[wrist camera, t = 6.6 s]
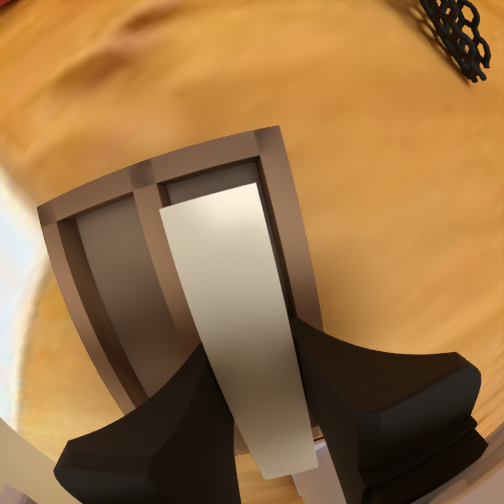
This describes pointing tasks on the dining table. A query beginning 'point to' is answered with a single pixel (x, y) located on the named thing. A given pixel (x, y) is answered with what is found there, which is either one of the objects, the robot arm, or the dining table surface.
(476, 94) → the dining table surface
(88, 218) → the rack
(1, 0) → the citrus juicer
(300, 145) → the dining table surface
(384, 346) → the dining table surface
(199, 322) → the clay strip
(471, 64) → the decorative element
